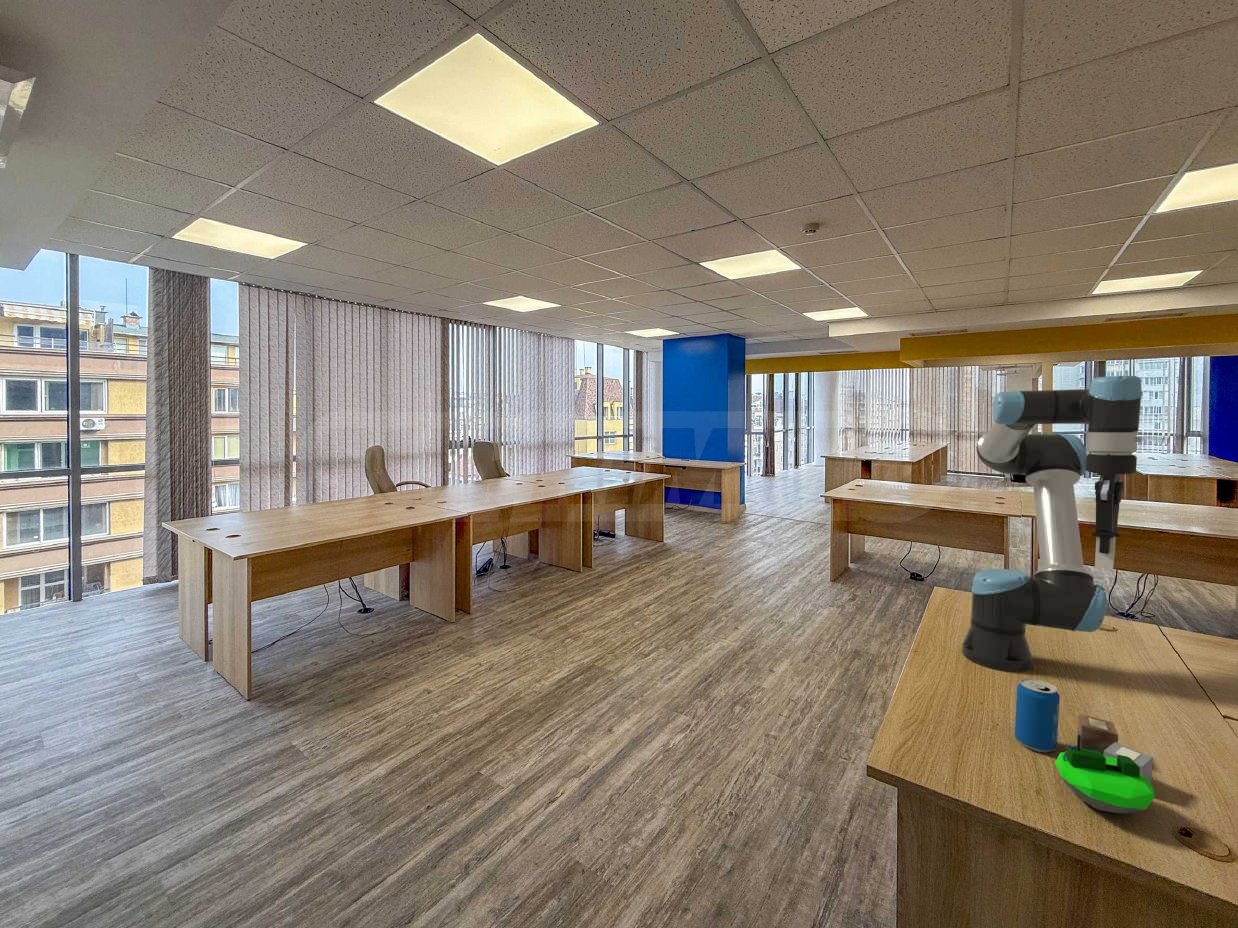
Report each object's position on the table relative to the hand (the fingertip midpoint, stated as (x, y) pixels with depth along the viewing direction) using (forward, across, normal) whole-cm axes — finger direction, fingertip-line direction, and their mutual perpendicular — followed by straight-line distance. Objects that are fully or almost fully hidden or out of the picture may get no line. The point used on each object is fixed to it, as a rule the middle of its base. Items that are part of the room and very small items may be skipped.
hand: (1104, 567), depth 109 cm
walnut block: (+33, -13, -2) cm, 35 cm away
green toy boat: (+33, -32, -5) cm, 46 cm away
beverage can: (+33, -20, +6) cm, 39 cm away
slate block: (+33, -21, -7) cm, 39 cm away
